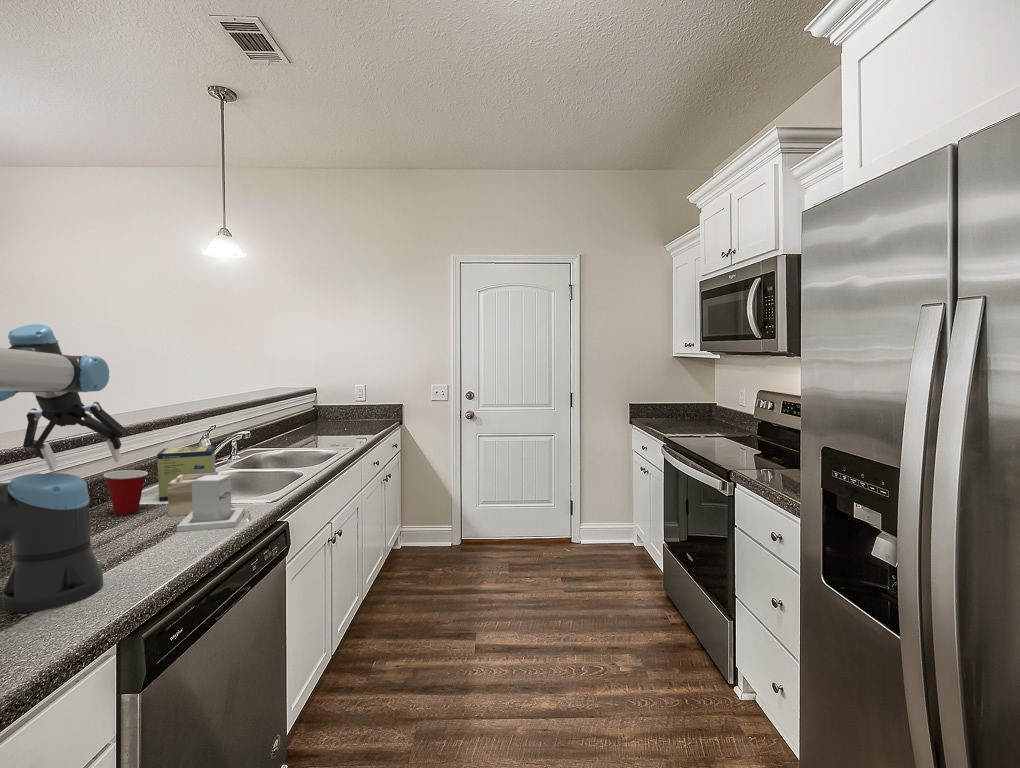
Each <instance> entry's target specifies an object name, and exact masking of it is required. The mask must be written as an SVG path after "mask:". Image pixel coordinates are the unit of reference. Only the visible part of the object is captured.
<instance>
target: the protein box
mask: <svg viewBox="0 0 1020 768" xmlns="http://www.w3.org/2000/svg"><path fill="white" fill-rule="evenodd" d="M215 449H216V448H215V445H204V446H191V447H186V446H185V447H172V448H171V447H170V448H168V447H167V448H163V449H161V451H159V452H158V453H157V454H156V455H157V457H156V458H157V459H156V460H157V477H158V482H157V483H158V501H159V502H168V485H167V484H168V483H170V482H171V481H172V480H174V479H175V478H176V477H178V476H179V475H187V474H204V473H217V471H216V450H215Z"/></svg>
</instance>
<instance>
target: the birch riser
mask: <svg viewBox="0 0 1020 768" xmlns="http://www.w3.org/2000/svg"><path fill="white" fill-rule="evenodd" d="M205 475H224V472H222V471H221V472H216V473H204V474H187V475H179V476H178V477H176V478H175V479H174V480H172V481H171V482H170V483H168V484H167V485H168V501H167V507H168V511H167V512H168V517H178V516H188V515H189V514H190V513H191V512H192V481H193V480H195V479H198V478H201V477H203V476H205Z"/></svg>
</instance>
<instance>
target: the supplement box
mask: <svg viewBox="0 0 1020 768" xmlns="http://www.w3.org/2000/svg"><path fill="white" fill-rule="evenodd" d="M231 482H232V479H231V474H223V475H205V476H203V477H201V478H198V479H195V480H193V481H192V511H193V523H199V522H211V521H224V520H229V519H230V517H231V516H232V513H231V508H232V483H231Z"/></svg>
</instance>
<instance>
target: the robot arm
mask: <svg viewBox="0 0 1020 768" xmlns="http://www.w3.org/2000/svg"><path fill="white" fill-rule="evenodd" d="M7 338H8V340H9V342H8V343H9V344H10V345H11V346H10V347H9V348H4V347H0V402H4V401H6V400H8V399H10V398H13V397H14V396H16V394H19V393H33V395H34V396H35V399H36V401H37V404H38V405H39V408H40V410H38V409H37V408H31V409H30V410H29V411H28V413H27V414H26V415H25V416H26V419H27V422H28V423H27V427H26V432H25V435H24V441H23V444H22V446H23V448H25V449H29V448H33V449H35V451H36V454H38V457H39V459H41V460H43V459H44V460H45V463H46V464H47V466H48V469H49V471H51V472H46V473H30V474H29V473H28V474H24V475H19V476H16V477H14V478H12V479H11V480H10V481H9V482H0V545H1V546H2V545H11V548H12V565H11V568H10V571H9V574H8V577H7V580H6V583H5V585H4V588H3V590H2V596H1V597H2V608H3V609H5V610H7V611H9V612H15V613H16V612H17V613H18V612H22V613H23V612H26V613H27V612H37V611H42V610H48V609H54V608H59V607H61V606H65V605H69V604H71V603H74V602H78V601H80V600H83V599H85V598H87V597H89V596H92V595H93V594H95V593H96V592H98V591H99V590H101V589H102V587H103V586H104V573H103V571H102V569H101V567H100V565H99V562H98V561H97V559H96V556H95V555H94V552H93V551H92V547H91V546H92V545H91V527H90V526H91V524H90V523H91V521H90V501H91V500H90V496H89V490H88V489H89V488H88V483H87V482H86V481H85V480H84V479H83V477H81V476H78V475H75V474H71V473H70V474H69V473H64V472H63V473H61V472H60V473H59V472H53V471H55V470H56V468H57V467H58V465H59V462H58V460H57V458H56V456H55V454H54V451H53V449H52V447H51V446H50V443H49V442H45V441H46V439H47V438H48V436H49V435H50V433H51V432H52V430H53V429H54V428H55V426H59V427H66V426H76V425H80V426H81V427H86V428H88V429H90V430H91V431H93V432H95V433H97V434H99V435H101V436H103V437H104V438H107V440H106V444H107V446H108V449H109V451H110V454H111V456H112V458H113V461H114V463H119V462H120V459H121V457H122V453H121V451H120V448H121V446H122V442H121V440H120V438H121V437H123V436H124V433H125V431H126V427H124V426H123V425H121V424H120V422H119V421H117V420H115V418H113V417H112V416H111V415H109V414H108V413H107V412H106V411H105V410H104V409H103V407H102V406H101V404H100V403H99V401H94V402H93V403H92V404H87V405H85V404H84V403H83V402H82V399H81V396H80V393H89V392H91V393H92V392H100V391H102V390H103V389H105V388H106V387H107V385H108V384H109V380H110V367H109V365H108V363H107V362H106V360H105V359H104V358H102V357H101V356H97V355H86V354H83V355H69V354H63V353H62V350H61V347H60V344H59V340H57V337H56V336H55V333H54V331H53V330H52V328H51V327H49V326H48V325H45V324H38V323H35V324H34V323H33V324H26V325H22V326H18V327H16V328H14V329H12V330H10V331H9V332H8V336H7ZM87 412H88V413H87ZM92 415H93V417H94V418H93V417H92ZM41 417H43V418H44V419H46V420H47V421H49V422H48V424H47V425H46V427H45V428H44V430H43V431H42V433H41V435H40V436H39V437H38V438H37V439H35V438H36V434H37V433H36V432H37V428H38V425H39V421H40V419H41ZM82 418H83V419H82ZM95 418H96V419H95Z"/></svg>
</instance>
